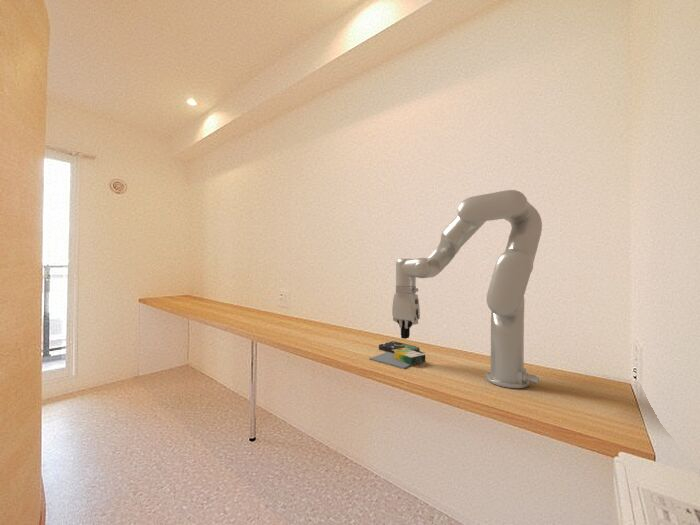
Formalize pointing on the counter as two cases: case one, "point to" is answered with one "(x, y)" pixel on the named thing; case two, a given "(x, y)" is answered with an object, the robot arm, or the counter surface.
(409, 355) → the crayon box
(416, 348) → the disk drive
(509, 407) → the counter surface
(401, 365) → the slate pad
